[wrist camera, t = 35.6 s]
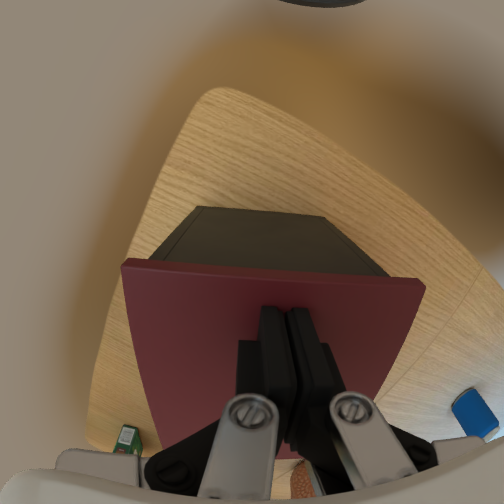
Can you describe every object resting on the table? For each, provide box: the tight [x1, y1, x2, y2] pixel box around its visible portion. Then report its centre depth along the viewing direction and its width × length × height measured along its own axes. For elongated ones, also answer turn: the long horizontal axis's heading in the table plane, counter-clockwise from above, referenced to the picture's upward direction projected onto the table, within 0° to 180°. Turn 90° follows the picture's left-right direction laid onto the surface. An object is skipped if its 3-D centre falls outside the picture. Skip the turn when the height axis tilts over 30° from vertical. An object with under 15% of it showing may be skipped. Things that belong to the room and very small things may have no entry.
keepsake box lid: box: [121, 258, 426, 459], centre depth 12 cm, size 14×12×1 cm
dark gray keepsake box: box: [149, 206, 391, 277], centre depth 20 cm, size 13×12×15 cm
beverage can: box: [452, 389, 500, 442], centre depth 31 cm, size 6×6×12 cm
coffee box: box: [113, 425, 143, 457], centre depth 31 cm, size 8×3×13 cm, turn 171°
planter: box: [290, 462, 316, 499], centre depth 35 cm, size 12×12×11 cm
